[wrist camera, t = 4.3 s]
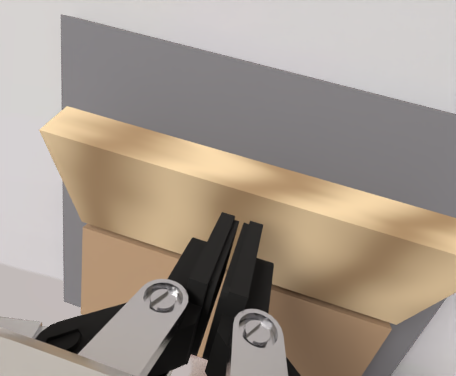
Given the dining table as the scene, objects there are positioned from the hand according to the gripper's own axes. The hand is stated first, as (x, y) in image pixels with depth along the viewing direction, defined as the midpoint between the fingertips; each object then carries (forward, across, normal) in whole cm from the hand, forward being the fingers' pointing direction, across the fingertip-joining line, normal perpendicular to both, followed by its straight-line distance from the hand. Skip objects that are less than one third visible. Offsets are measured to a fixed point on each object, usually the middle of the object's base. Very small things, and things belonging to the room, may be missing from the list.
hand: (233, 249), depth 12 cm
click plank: (+5, 0, +1) cm, 5 cm away
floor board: (+8, 0, +5) cm, 9 cm away
